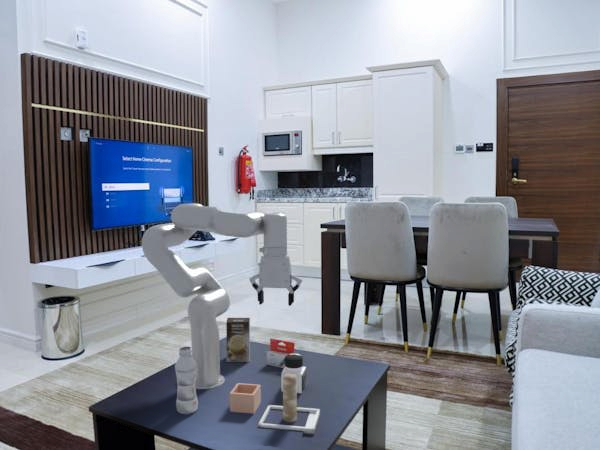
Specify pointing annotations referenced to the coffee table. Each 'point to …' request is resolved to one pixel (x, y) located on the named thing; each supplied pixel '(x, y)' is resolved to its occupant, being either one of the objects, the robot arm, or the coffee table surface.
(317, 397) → the coffee table surface
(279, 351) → the ink cartridge box
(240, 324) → the coffee box
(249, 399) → the pen pot
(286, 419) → the dowel
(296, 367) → the medicine bottle
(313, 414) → the tray
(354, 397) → the coffee table surface
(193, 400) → the plastic bottle
